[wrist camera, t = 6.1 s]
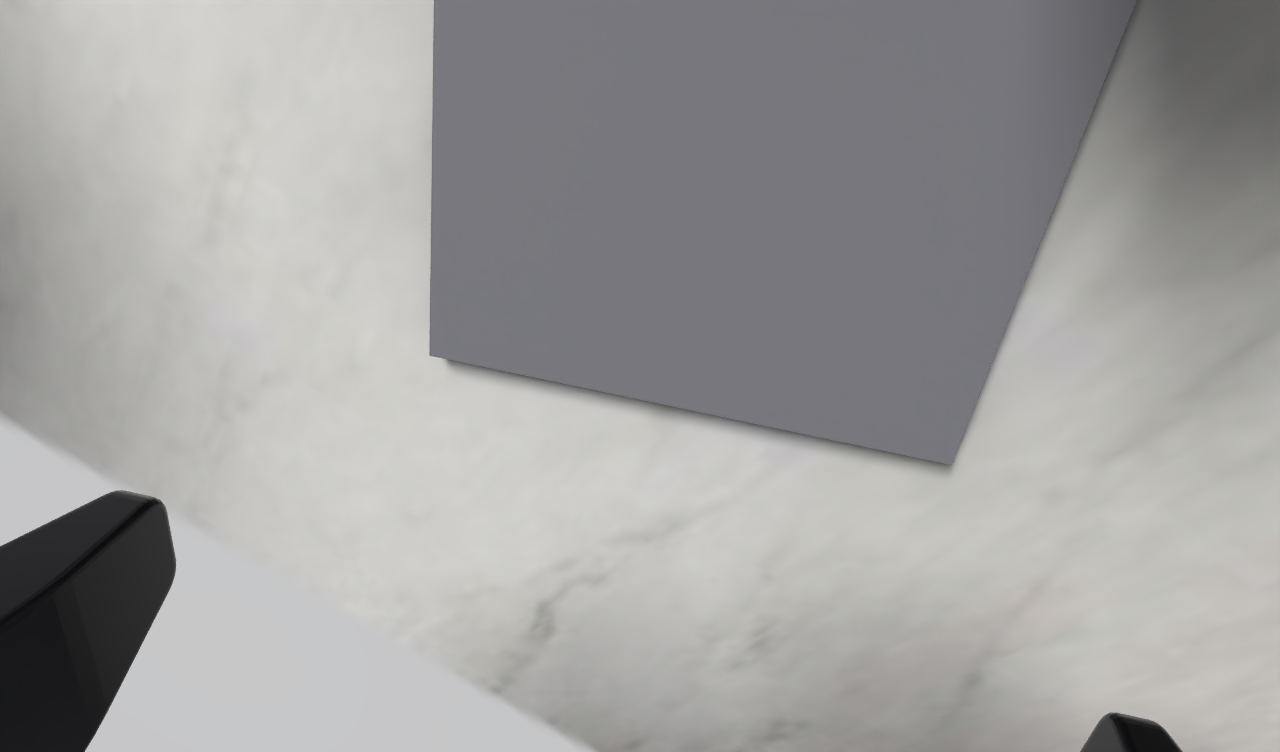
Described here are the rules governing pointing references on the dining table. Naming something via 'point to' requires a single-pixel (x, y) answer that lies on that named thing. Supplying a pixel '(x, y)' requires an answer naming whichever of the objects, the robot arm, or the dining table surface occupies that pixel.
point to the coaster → (755, 198)
